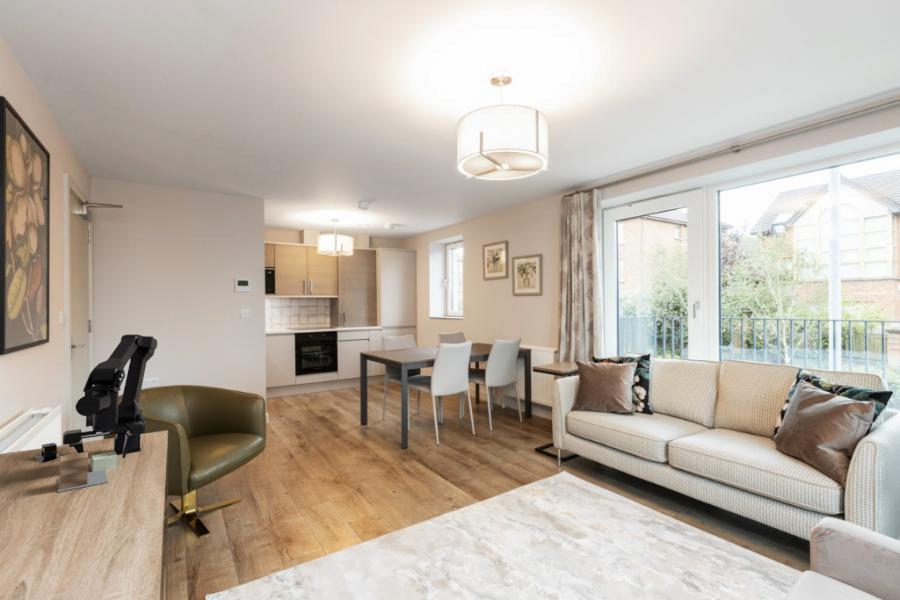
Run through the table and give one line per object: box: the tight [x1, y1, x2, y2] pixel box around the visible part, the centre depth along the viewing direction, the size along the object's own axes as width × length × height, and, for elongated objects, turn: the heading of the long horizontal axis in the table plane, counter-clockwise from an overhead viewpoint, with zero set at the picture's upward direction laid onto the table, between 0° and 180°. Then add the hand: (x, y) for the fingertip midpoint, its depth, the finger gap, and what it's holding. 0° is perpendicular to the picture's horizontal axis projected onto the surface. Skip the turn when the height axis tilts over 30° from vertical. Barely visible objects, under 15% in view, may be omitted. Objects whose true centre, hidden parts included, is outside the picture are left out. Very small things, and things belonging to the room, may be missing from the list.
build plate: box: [34, 442, 60, 464], centre depth 135 cm, size 12×7×5 cm, turn 53°
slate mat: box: [57, 469, 109, 494], centre depth 116 cm, size 10×12×1 cm
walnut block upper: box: [59, 451, 89, 477], centre depth 114 cm, size 6×6×4 cm
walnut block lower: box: [59, 470, 89, 490], centre depth 113 cm, size 6×6×4 cm
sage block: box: [90, 450, 118, 472], centre depth 127 cm, size 6×6×4 cm
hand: (104, 461), depth 127 cm, fingers open, 9 cm apart
